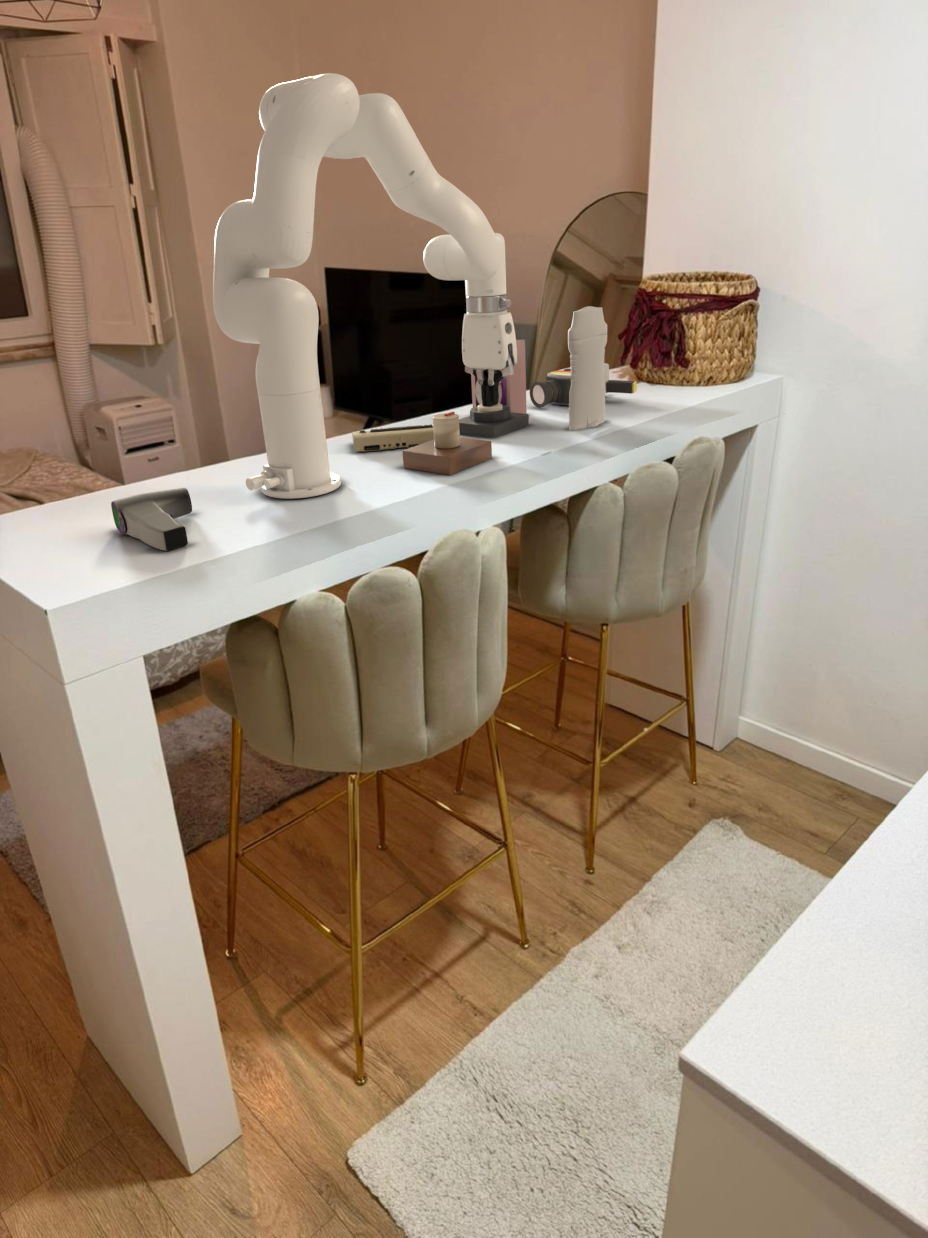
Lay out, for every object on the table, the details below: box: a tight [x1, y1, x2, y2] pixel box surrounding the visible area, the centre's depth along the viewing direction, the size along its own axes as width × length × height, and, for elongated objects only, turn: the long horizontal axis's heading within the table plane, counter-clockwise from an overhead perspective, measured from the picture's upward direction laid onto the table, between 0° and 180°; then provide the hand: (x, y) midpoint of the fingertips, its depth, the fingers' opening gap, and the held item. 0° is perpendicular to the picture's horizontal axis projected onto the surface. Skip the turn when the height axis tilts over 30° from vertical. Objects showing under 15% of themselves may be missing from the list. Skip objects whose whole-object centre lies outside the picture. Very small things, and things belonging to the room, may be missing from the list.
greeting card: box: [470, 339, 528, 414], centre depth 181 cm, size 11×7×15 cm, turn 42°
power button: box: [478, 403, 502, 412], centre depth 172 cm, size 5×5×2 cm
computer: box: [351, 424, 434, 452], centre depth 165 cm, size 16×8×3 cm, turn 99°
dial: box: [432, 411, 461, 449], centre depth 150 cm, size 4×4×5 cm
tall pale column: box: [567, 305, 608, 431], centre depth 168 cm, size 11×4×22 cm, turn 132°
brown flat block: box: [402, 436, 493, 476], centre depth 151 cm, size 12×10×3 cm
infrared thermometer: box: [110, 487, 193, 552], centre depth 125 cm, size 5×12×15 cm
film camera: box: [529, 362, 638, 409], centre depth 189 cm, size 7×19×15 cm
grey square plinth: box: [459, 405, 530, 439], centre depth 173 cm, size 12×10×4 cm
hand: (490, 404), depth 172 cm, fingers closed
